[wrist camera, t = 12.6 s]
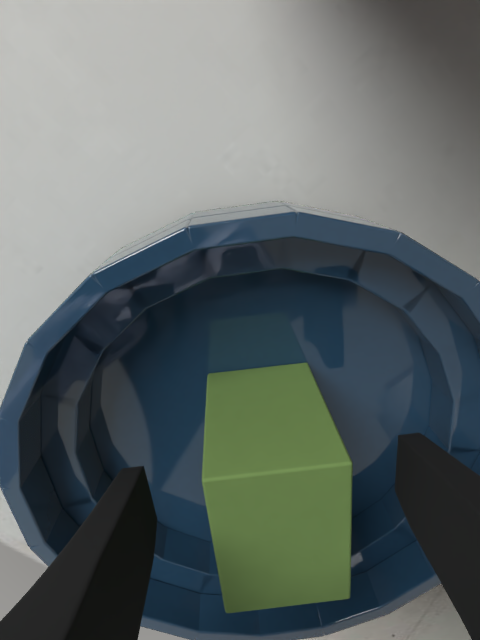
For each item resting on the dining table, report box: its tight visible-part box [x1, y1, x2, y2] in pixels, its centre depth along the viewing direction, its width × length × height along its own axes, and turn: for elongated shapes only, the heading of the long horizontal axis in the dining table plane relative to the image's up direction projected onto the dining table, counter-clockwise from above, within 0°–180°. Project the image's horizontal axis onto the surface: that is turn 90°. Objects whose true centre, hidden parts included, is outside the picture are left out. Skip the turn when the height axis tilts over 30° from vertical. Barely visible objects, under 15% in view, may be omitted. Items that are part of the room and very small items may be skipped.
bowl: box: [0, 201, 480, 640], centre depth 13 cm, size 16×16×4 cm
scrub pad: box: [202, 363, 353, 613], centre depth 12 cm, size 5×4×5 cm
